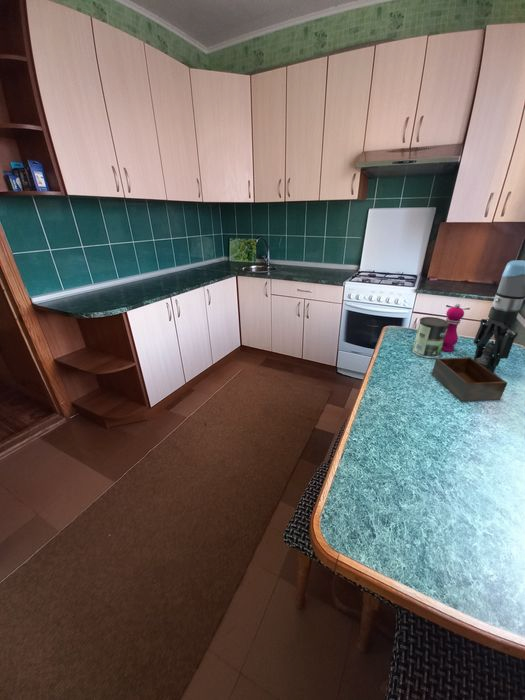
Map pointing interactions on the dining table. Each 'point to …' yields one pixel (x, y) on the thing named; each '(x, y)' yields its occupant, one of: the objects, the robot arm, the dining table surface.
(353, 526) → the dining table surface
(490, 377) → the holder
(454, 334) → the pepper mill
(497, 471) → the dining table surface
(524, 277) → the robot arm
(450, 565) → the dining table surface
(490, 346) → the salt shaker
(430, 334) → the coffee can
